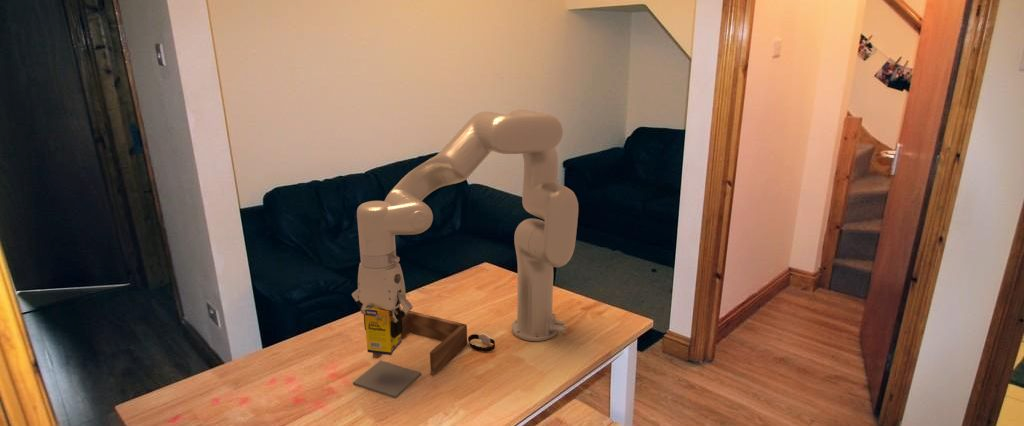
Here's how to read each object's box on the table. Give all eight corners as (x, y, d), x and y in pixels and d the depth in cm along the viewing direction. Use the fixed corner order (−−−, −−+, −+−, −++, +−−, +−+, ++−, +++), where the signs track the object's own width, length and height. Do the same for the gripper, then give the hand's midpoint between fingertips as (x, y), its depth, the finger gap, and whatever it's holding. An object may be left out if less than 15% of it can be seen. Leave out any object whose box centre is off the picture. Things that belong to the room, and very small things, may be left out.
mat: (421, 374, 127) (421, 372, 127) (395, 398, 118) (395, 396, 118) (380, 362, 132) (380, 360, 131) (353, 384, 123) (352, 382, 123)
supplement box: (391, 355, 119) (388, 311, 116) (366, 352, 120) (363, 308, 117) (402, 342, 124) (399, 299, 121) (378, 339, 126) (375, 297, 122)
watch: (498, 347, 139) (498, 334, 138) (489, 355, 135) (489, 343, 134) (473, 339, 142) (473, 327, 141) (464, 347, 138) (463, 335, 137)
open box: (467, 345, 139) (466, 324, 138) (435, 375, 126) (434, 353, 125) (409, 329, 147) (407, 310, 145) (373, 357, 134) (371, 336, 132)
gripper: (421, 258, 116) (425, 332, 121) (358, 246, 123) (364, 316, 128) (400, 271, 109) (405, 348, 114) (335, 257, 116) (342, 330, 121)
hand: (383, 330), depth 121 cm, fingers closed on supplement box, 6 cm apart
